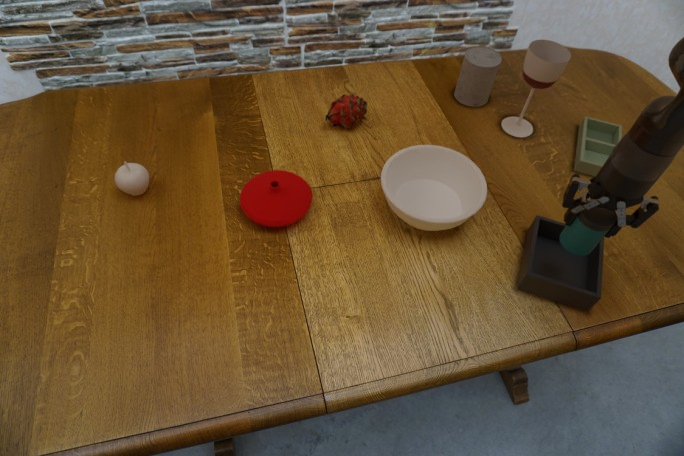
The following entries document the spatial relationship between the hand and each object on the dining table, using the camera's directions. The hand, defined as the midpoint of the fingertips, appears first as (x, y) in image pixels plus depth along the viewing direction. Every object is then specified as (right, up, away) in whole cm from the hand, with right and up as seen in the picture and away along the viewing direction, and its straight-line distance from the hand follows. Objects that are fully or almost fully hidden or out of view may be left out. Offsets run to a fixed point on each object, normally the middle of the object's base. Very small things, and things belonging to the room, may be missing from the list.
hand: (587, 228), depth 83 cm
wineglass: (+2, +27, +38) cm, 47 cm away
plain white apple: (-91, +9, +21) cm, 93 cm away
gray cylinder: (-8, +37, +45) cm, 59 cm away
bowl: (-25, +5, +21) cm, 33 cm away
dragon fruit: (-44, +27, +37) cm, 63 cm away
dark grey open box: (-1, -8, +11) cm, 14 cm away
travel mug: (0, -3, +4) cm, 4 cm away
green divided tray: (+20, +19, +33) cm, 43 cm away
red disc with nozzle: (-59, +5, +19) cm, 62 cm away
